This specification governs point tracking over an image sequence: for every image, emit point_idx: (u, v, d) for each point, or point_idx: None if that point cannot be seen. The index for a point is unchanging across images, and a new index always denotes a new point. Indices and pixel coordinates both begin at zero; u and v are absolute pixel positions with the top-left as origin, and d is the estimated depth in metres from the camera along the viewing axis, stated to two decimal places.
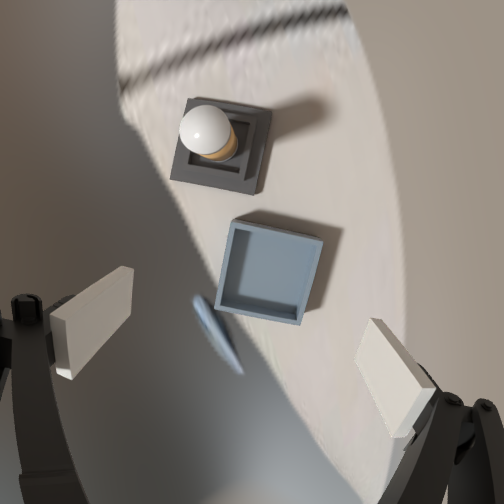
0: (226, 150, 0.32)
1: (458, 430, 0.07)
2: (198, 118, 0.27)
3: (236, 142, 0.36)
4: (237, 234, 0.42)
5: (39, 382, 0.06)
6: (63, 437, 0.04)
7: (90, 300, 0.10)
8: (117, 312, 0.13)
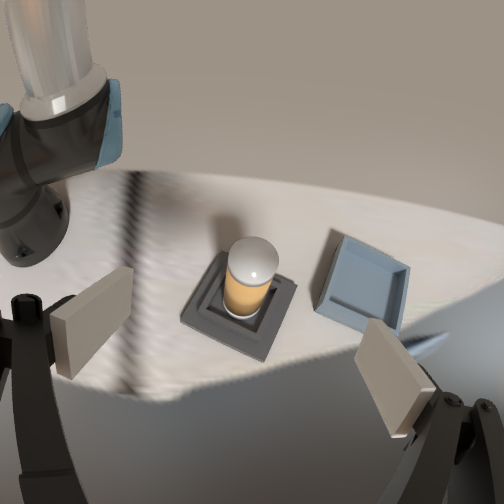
0: None
1: (458, 430, 0.07)
2: (241, 259, 0.29)
3: None
4: None
5: (39, 382, 0.06)
6: (63, 437, 0.04)
7: (90, 300, 0.10)
8: (117, 312, 0.13)
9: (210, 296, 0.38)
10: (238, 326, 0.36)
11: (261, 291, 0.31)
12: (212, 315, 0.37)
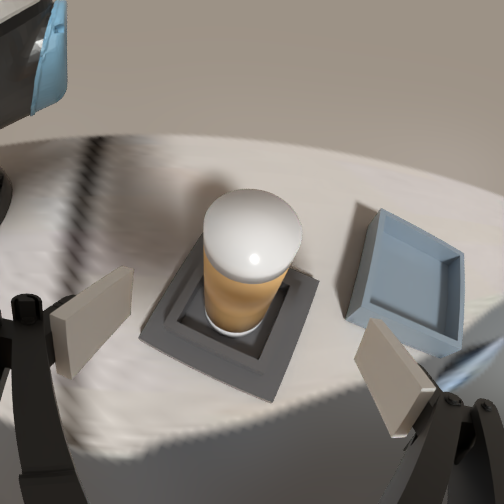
0: None
1: (458, 430, 0.07)
2: (229, 229, 0.15)
3: None
4: None
5: (39, 382, 0.06)
6: (63, 437, 0.04)
7: (90, 300, 0.10)
8: (117, 312, 0.13)
9: (183, 300, 0.23)
10: (229, 349, 0.22)
11: (268, 292, 0.17)
12: (187, 331, 0.22)
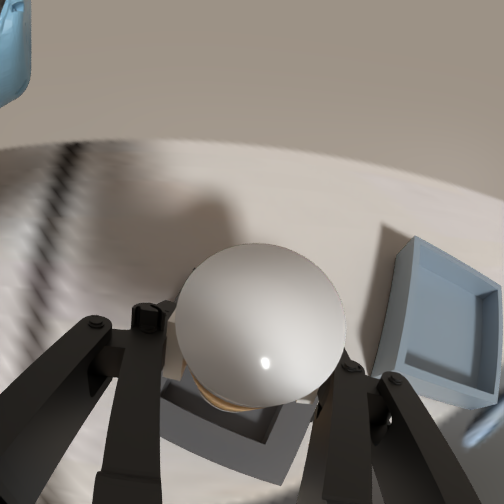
0: None
1: (365, 398, 0.08)
2: (221, 327, 0.08)
3: None
4: None
5: (147, 390, 0.07)
6: (158, 446, 0.05)
7: None
8: None
9: None
10: (227, 433, 0.15)
11: None
12: (172, 410, 0.15)
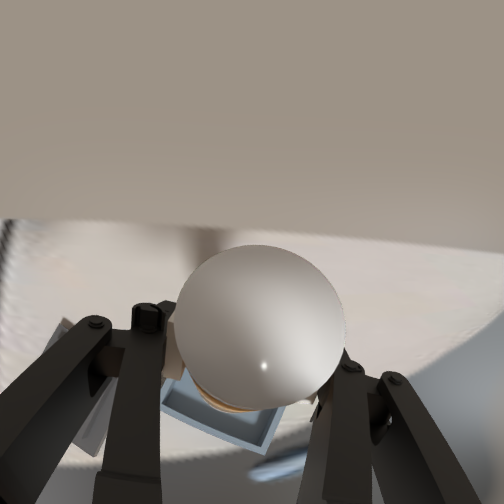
0: None
1: (365, 398, 0.08)
2: (220, 329, 0.08)
3: None
4: (175, 406, 0.29)
5: (147, 390, 0.07)
6: (158, 446, 0.05)
7: None
8: None
9: None
10: None
11: None
12: None
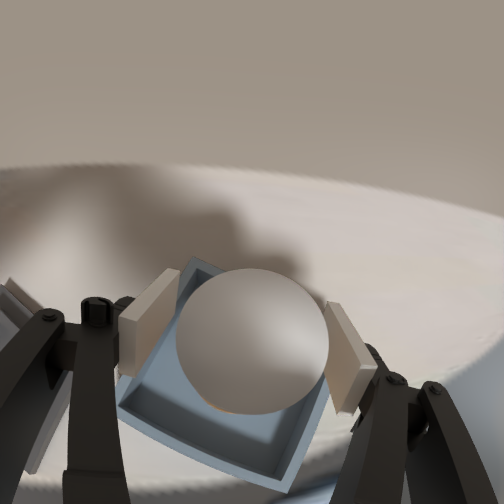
0: None
1: (406, 410, 0.08)
2: (216, 346, 0.09)
3: None
4: (144, 411, 0.17)
5: (101, 384, 0.07)
6: (118, 440, 0.05)
7: (152, 301, 0.12)
8: (167, 312, 0.15)
9: None
10: None
11: None
12: None
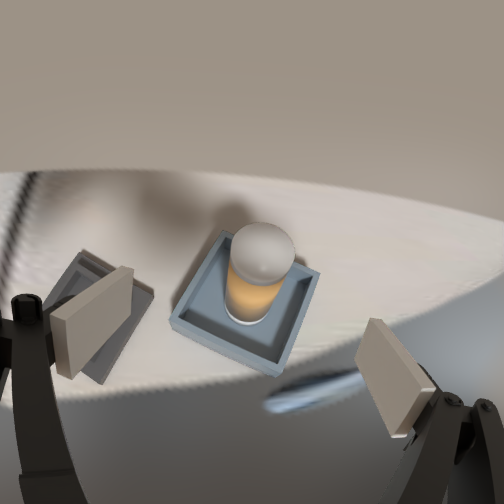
0: None
1: (458, 430, 0.07)
2: (248, 251, 0.23)
3: None
4: None
5: (39, 382, 0.06)
6: (63, 437, 0.04)
7: (90, 300, 0.10)
8: (117, 312, 0.13)
9: (51, 303, 0.28)
10: None
11: (272, 291, 0.25)
12: None
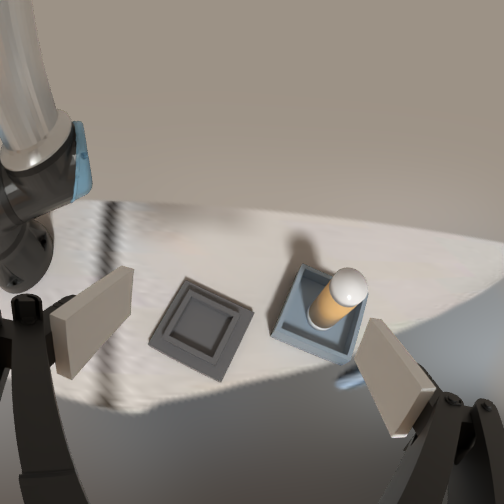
0: None
1: (458, 430, 0.07)
2: (343, 286, 0.36)
3: None
4: None
5: (39, 382, 0.06)
6: (63, 437, 0.04)
7: (90, 300, 0.10)
8: (117, 312, 0.13)
9: (172, 323, 0.42)
10: (197, 351, 0.40)
11: None
12: (174, 341, 0.40)
